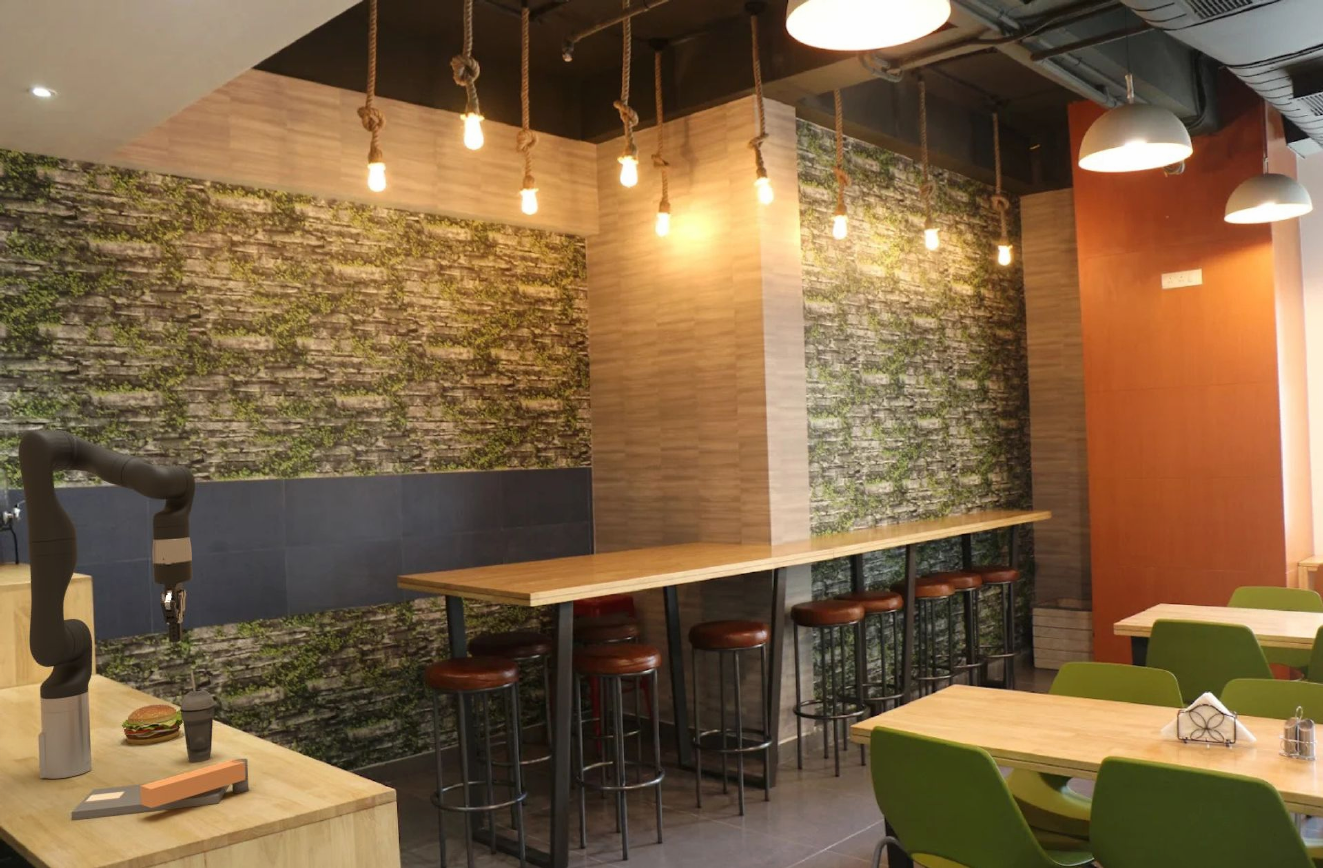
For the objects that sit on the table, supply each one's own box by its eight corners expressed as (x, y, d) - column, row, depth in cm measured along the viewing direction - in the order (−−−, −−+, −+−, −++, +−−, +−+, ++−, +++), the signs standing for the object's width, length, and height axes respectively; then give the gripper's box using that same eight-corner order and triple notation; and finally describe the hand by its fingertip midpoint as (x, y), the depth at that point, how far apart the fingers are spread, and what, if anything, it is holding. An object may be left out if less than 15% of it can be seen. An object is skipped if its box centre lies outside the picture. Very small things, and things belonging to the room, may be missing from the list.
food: (119, 750, 247) (118, 716, 247) (124, 736, 260) (123, 704, 260) (184, 741, 253) (182, 708, 253) (185, 728, 266) (183, 696, 266)
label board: (71, 820, 199) (71, 808, 199) (93, 796, 213) (93, 785, 213) (242, 800, 206) (242, 789, 206) (253, 779, 219) (253, 768, 219)
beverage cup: (204, 764, 232) (200, 673, 233) (174, 763, 234) (171, 673, 234) (224, 754, 239) (220, 666, 240) (195, 753, 241) (192, 666, 241)
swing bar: (241, 774, 215) (240, 757, 215) (252, 777, 212) (251, 760, 212) (140, 804, 199) (140, 785, 199) (151, 807, 196) (150, 789, 196)
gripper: (160, 558, 229) (163, 637, 229) (145, 564, 216) (148, 648, 216) (197, 555, 231) (200, 634, 230) (184, 561, 218) (188, 645, 217)
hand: (175, 641), depth 223 cm, fingers closed
